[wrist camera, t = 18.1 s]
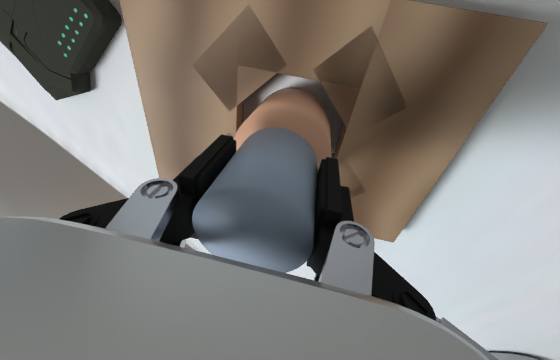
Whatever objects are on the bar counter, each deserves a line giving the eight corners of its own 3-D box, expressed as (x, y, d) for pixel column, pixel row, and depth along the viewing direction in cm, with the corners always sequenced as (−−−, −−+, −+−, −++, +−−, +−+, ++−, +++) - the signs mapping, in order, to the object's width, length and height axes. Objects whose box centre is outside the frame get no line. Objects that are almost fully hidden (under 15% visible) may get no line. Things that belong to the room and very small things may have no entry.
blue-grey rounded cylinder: (328, 137, 10) (329, 206, 6) (308, 205, 13) (299, 285, 9) (239, 119, 11) (185, 173, 7) (237, 189, 13) (197, 259, 9)
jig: (524, 24, 11) (548, 23, 10) (389, 230, 20) (393, 242, 19) (129, -41, 12) (108, -50, 11) (170, 179, 22) (161, 188, 21)
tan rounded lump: (340, 97, 15) (345, 121, 11) (319, 167, 18) (317, 206, 14) (258, 80, 15) (233, 98, 11) (252, 153, 18) (231, 187, 14)
